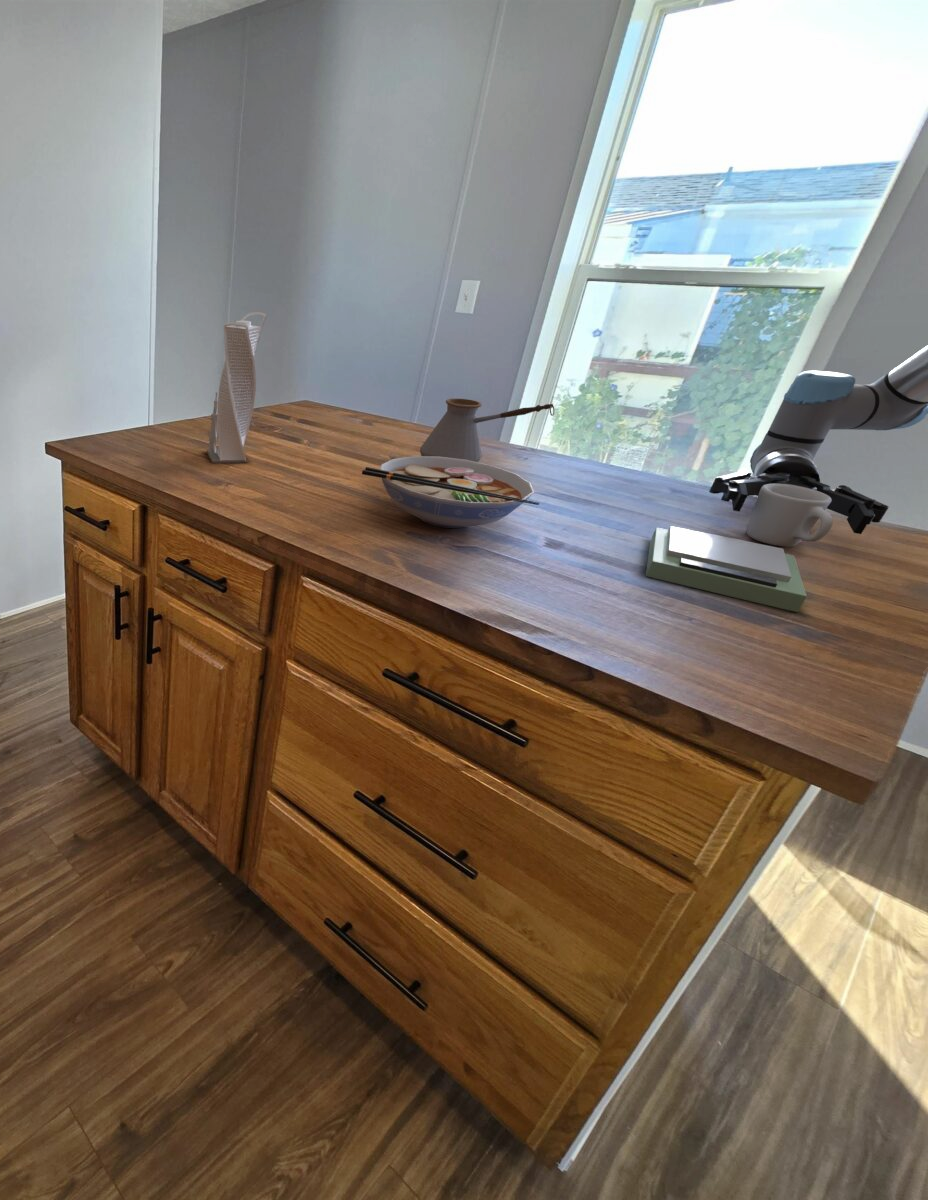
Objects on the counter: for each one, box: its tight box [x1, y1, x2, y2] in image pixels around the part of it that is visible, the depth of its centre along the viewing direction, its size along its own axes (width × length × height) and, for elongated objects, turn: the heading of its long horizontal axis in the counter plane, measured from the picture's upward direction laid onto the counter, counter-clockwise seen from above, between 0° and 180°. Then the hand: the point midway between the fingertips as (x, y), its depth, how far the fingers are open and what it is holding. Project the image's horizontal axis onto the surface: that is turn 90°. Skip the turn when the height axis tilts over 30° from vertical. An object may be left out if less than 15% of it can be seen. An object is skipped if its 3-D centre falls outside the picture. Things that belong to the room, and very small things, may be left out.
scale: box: [645, 525, 808, 613], centre depth 92 cm, size 16×15×3 cm
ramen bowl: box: [361, 455, 540, 529], centre depth 106 cm, size 25×23×8 cm
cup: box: [745, 484, 834, 547], centre depth 100 cm, size 11×8×8 cm
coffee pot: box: [419, 398, 555, 463], centre depth 126 cm, size 21×12×15 cm, turn 46°
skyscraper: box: [206, 311, 268, 464], centre depth 129 cm, size 8×8×28 cm
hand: (799, 513), depth 97 cm, fingers open, 13 cm apart
